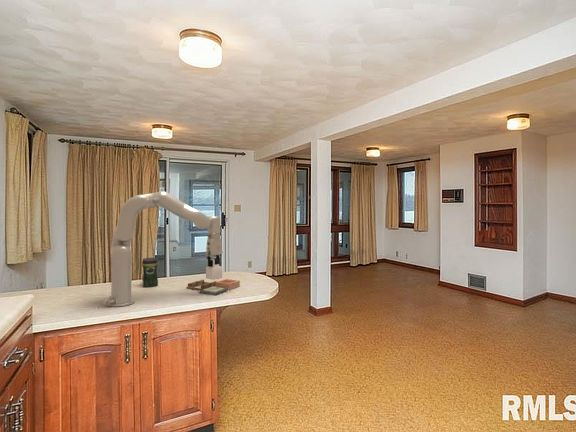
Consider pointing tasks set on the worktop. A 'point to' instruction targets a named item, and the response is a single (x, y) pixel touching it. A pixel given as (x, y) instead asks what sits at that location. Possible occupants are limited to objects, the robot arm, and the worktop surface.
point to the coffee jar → (149, 272)
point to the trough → (201, 282)
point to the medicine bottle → (214, 270)
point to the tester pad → (213, 289)
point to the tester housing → (213, 292)
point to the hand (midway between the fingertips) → (214, 265)
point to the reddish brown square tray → (228, 284)
